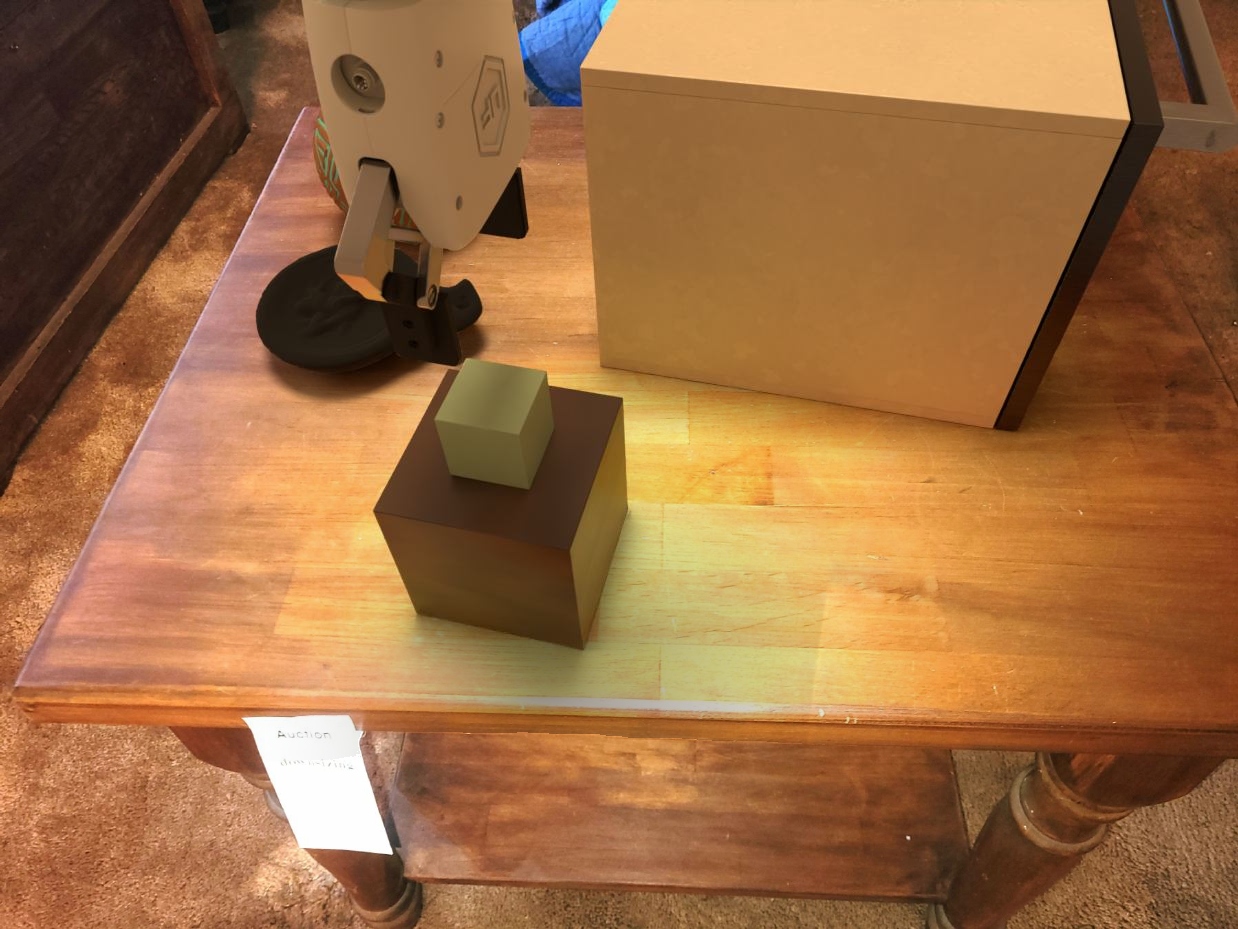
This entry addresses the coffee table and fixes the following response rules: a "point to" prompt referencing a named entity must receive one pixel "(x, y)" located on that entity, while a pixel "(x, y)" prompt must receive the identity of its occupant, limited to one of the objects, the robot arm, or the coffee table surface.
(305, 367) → the oil lamp
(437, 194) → the robot arm
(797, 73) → the oven
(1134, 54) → the oven door
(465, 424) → the block
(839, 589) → the coffee table surface
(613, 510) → the stand
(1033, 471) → the coffee table surface
